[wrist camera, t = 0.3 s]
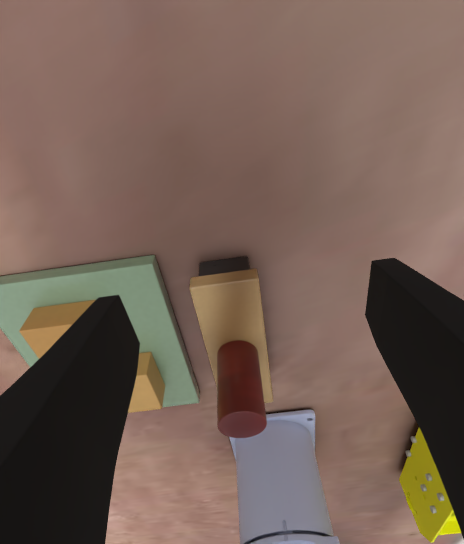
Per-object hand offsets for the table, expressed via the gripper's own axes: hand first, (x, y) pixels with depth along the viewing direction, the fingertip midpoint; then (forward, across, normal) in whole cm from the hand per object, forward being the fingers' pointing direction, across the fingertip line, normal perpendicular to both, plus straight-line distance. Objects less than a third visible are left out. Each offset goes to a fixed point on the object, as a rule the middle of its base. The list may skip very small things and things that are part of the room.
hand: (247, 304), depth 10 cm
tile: (+10, +11, +11) cm, 18 cm away
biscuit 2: (+9, +9, +13) cm, 18 cm away
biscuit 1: (+9, +11, +8) cm, 16 cm away
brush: (+10, +1, +10) cm, 14 cm away
